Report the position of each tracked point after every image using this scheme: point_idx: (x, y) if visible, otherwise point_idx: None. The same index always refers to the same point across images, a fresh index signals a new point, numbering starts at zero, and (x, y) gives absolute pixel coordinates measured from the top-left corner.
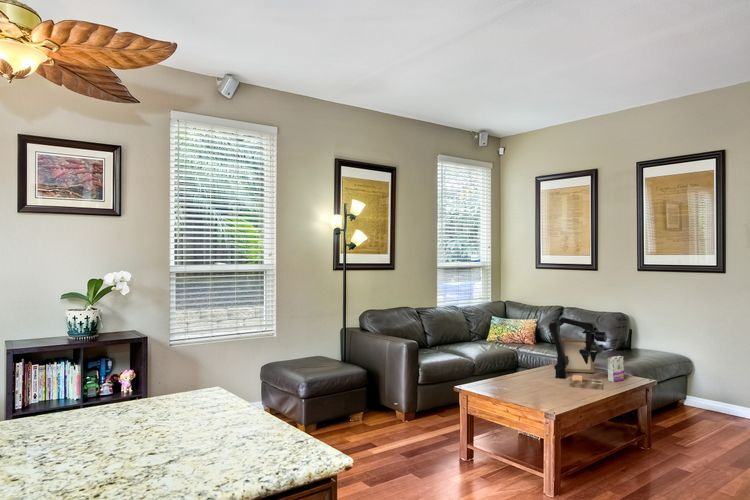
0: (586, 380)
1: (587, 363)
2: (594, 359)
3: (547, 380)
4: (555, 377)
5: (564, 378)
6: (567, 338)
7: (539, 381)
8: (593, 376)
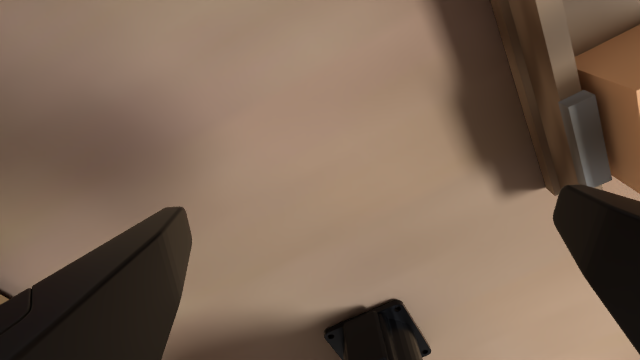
0: (562, 27)
1: (586, 186)
2: (147, 242)
3: (554, 337)
4: (429, 350)
5: (401, 301)
6: None
7: (625, 349)
8: (55, 198)
